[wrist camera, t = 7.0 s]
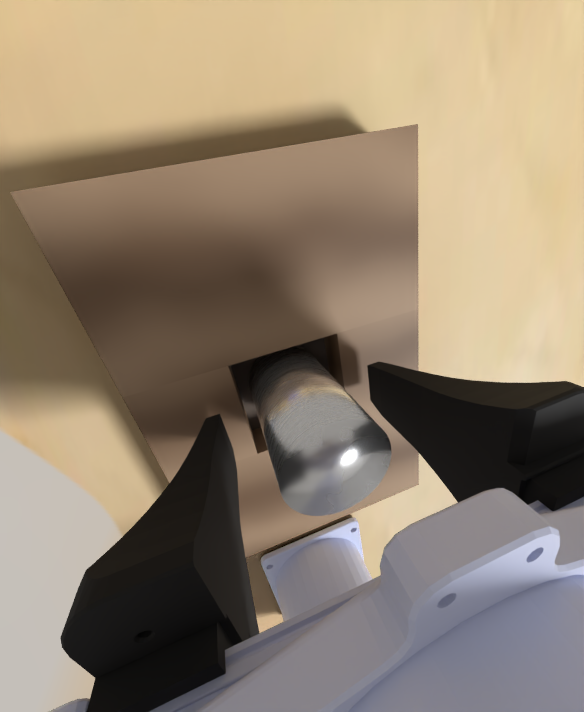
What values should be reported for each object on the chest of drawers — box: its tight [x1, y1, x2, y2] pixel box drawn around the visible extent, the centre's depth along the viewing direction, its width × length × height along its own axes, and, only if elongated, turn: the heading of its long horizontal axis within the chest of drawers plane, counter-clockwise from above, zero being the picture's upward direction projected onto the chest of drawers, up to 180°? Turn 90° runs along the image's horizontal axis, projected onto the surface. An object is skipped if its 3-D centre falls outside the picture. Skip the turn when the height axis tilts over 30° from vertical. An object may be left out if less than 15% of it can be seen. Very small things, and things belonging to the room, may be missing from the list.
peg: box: [249, 346, 391, 516], centre depth 12 cm, size 4×4×7 cm
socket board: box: [10, 124, 419, 558], centre depth 15 cm, size 20×14×2 cm
